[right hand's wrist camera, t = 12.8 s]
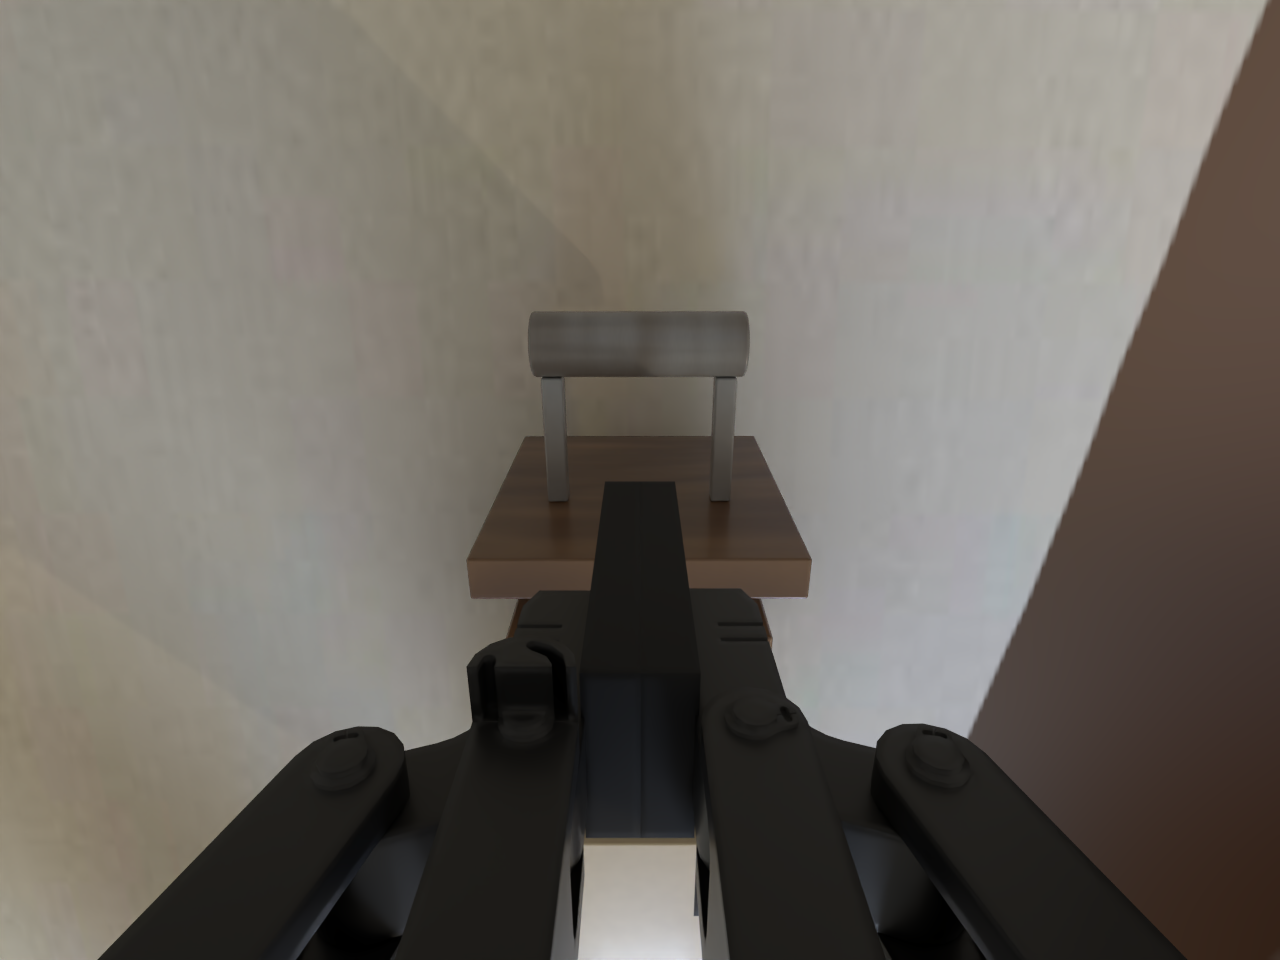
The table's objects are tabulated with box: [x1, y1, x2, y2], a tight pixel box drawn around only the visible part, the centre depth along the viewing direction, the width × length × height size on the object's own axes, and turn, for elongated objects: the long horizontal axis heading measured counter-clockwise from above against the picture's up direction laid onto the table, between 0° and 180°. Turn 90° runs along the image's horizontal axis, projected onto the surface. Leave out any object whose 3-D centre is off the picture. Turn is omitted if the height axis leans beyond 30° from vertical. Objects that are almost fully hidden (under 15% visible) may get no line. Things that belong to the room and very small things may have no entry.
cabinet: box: [578, 832, 702, 960], centre depth 29 cm, size 20×10×11 cm, turn 0°
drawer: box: [466, 311, 812, 650], centre depth 24 cm, size 24×9×10 cm, turn 0°
